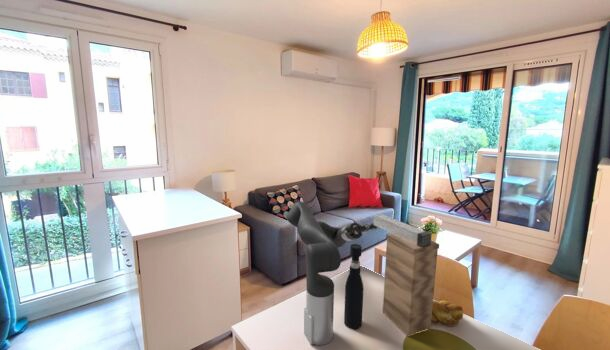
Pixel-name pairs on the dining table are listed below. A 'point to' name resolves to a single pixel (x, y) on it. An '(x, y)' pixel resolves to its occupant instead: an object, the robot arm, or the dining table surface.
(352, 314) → the wine bottle
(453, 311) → the bread roll
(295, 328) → the dining table surface
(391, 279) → the walnut stand
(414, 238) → the aluminium bar
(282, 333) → the dining table surface
